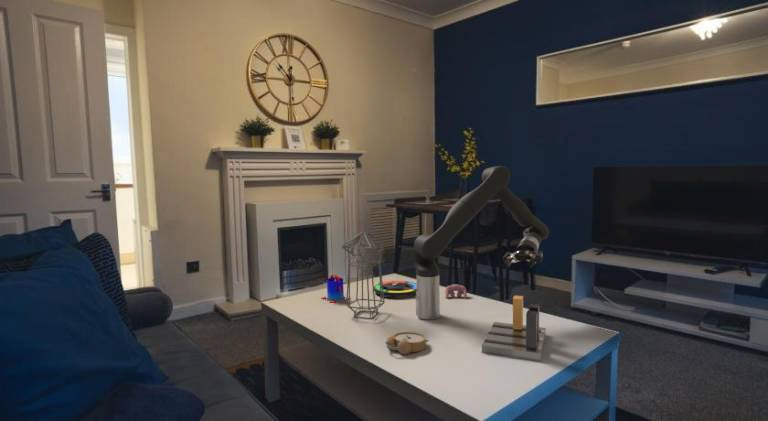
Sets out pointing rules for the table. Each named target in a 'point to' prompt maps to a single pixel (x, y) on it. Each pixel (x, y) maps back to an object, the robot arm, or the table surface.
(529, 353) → the grey slotted base
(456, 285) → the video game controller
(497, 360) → the table surface
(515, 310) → the orange rectangular block
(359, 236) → the geometric lantern
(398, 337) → the alarm clock
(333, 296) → the fantasy tower
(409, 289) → the electronic game
